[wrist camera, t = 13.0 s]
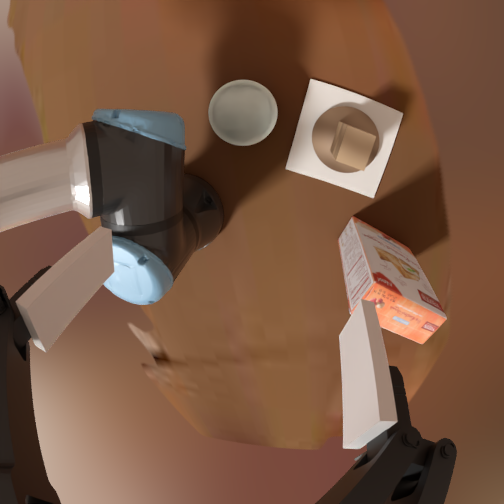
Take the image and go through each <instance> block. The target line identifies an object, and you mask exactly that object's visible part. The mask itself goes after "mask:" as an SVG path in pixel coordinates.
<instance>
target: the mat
mask: <svg viewBox="0 0 504 504" xmlns="http://www.w3.org/2000/svg"><path fill="white" fill-rule="evenodd" d="M339 106H348V107H353V108H356V109H359V110H361V111H362V112H364V113H365V114H366V115H368V116H369V117H370V118H371V119H372V121H373V122H374V124H375V126H376V128H377V130H378V134H379V149H378V152H377V155H376V157H375V158H374V160H373V161H372V162H371V164H369V165H368V166H367V167H366V168H365V170H364V171H362V170H360V171H358V172H354V173H341V172H337V171H334V170H332V169H330V168H329V167H327V166H326V165H324V164H323V163H322V162H321V161H320V159H319V158H318V156H317V155H316V153H315V151H314V148H313V144H312V130H313V127H314V124H315V122H316V120H317V119H318V118H319V117H320V116H321V115H322V114H323V113H324V112H325V111H327V110H329V109H331V108H334V107H339ZM402 116H403V113H401V112H399V111H397V110H395V109H393V108H390V107H388V106H386V105H383V104H381V103H379V102H376V101H374V100H371V99H369V98H366V97H364V96H361V95H358V94H356V93H353V92H350V91H348V90H345V89H342V88H339V87H336V86H333V85H330V84H327V83H323V82H320V81H317V80H313V79H310V83H309V86H308V90H307V94H306V97H305V101H304V104H303V108H302V112H301V115H300V119H299V122H298V126H297V130H296V133H295V137H294V140H293V144H292V147H291V151H290V154H289V158H288V161H287V165H286V168H285V169H287V170H290V171H294V172H297V173H300V174H304V175H307V176H310V177H313V178H316V179H320V180H323V181H326V182H329V183H332V184H335V185H338V186H341V187H343V188H346V189H349V190H352V191H355V192H358V193H360V194H363V195H366V196H368V197H371V198H374V196H375V193H376V191H377V188H378V185H379V183H380V180H381V178H382V175H383V172H384V169H385V167H386V164H387V161H388V158H389V156H390V153H391V150H392V147H393V144H394V141H395V138H396V135H397V132H398V129H399V126H400V123H401V119H402Z"/></svg>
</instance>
